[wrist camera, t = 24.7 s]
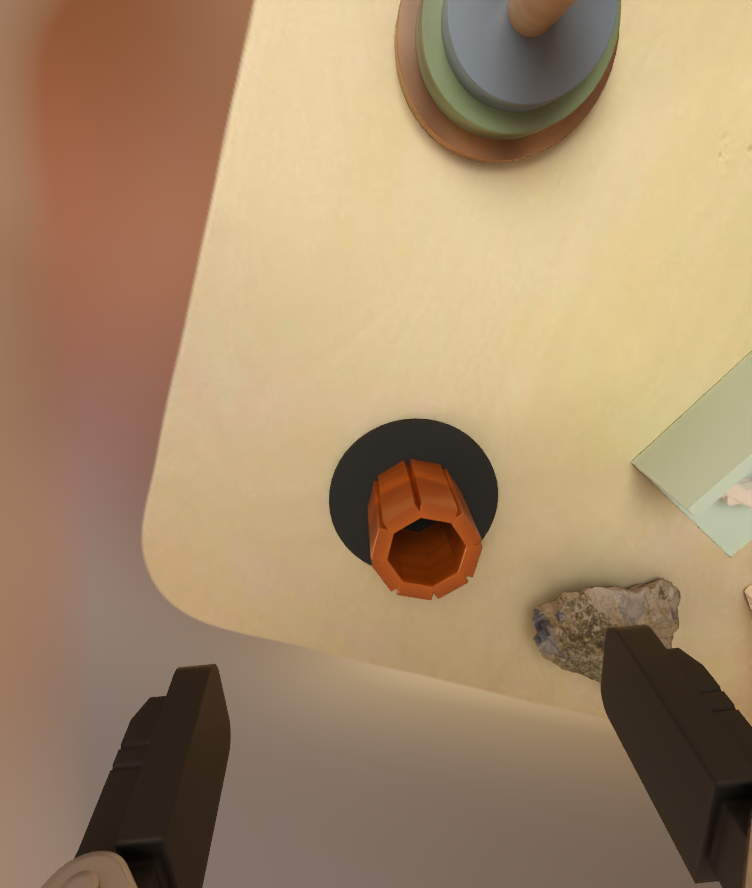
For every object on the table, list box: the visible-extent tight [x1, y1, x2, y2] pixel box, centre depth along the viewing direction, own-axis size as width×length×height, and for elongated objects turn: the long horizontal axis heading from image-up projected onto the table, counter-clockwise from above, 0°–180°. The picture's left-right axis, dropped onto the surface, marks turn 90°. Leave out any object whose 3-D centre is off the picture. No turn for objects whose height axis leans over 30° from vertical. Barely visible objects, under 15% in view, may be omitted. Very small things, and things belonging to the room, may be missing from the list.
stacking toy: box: [395, 0, 621, 163], centre depth 27 cm, size 12×12×12 cm
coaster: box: [329, 419, 498, 566], centre depth 42 cm, size 12×12×1 cm
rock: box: [532, 578, 680, 683], centre depth 44 cm, size 11×6×10 cm
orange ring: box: [368, 459, 482, 600], centre depth 39 cm, size 6×6×7 cm
